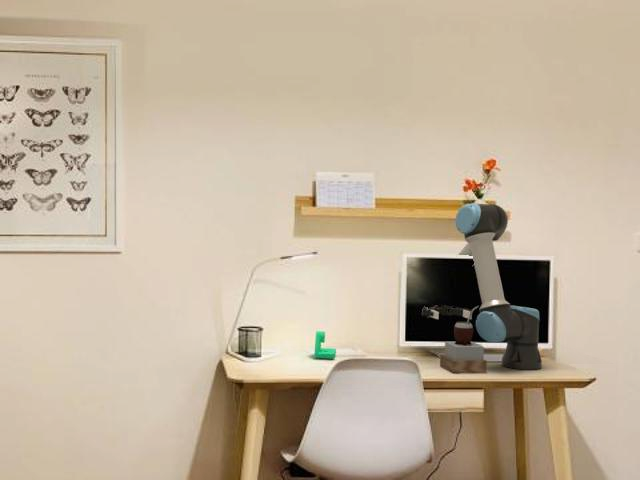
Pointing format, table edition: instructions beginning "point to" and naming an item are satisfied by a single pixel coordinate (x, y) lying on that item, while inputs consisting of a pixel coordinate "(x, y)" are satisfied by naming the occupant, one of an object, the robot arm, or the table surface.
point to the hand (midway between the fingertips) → (454, 315)
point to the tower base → (462, 365)
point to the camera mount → (323, 352)
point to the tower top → (464, 351)
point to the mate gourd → (464, 331)
